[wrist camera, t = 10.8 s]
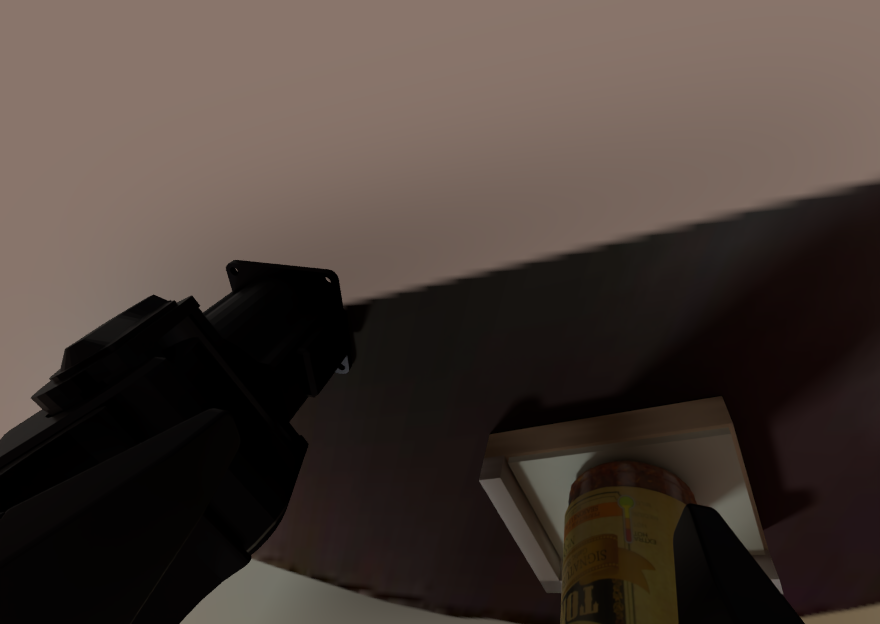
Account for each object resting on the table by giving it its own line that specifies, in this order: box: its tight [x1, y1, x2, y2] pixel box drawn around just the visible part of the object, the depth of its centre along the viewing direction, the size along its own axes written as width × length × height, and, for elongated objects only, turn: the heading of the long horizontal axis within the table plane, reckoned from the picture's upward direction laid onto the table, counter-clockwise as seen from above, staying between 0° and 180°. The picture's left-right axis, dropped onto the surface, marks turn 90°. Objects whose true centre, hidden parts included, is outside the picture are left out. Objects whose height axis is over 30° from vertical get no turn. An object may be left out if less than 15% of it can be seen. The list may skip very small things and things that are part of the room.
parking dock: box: [479, 396, 783, 594], centre depth 24 cm, size 12×10×3 cm
